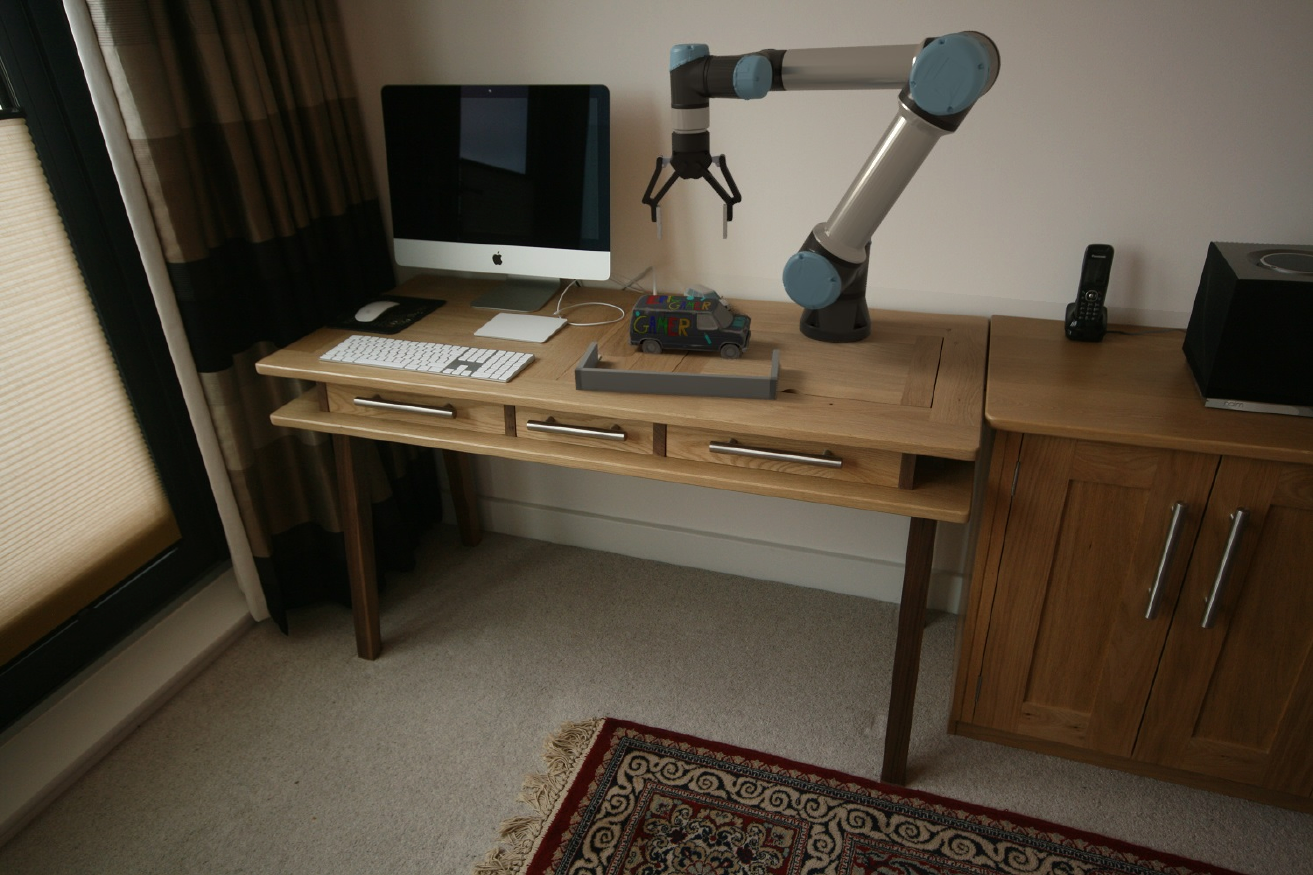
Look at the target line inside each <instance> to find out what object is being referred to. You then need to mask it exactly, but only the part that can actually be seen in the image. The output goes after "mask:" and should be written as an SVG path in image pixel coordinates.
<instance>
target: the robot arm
mask: <svg viewBox="0 0 1313 875" xmlns="http://www.w3.org/2000/svg"><path fill="white" fill-rule="evenodd" d="M669 53H670V54H669V69H668V73H669V80H670V81H669V82H670V83H669V84H670V100H671V101H670V102H671V103H670V122H671V124H670V126H671V129H672V130H673V131H672V133H671V156H664V155H662V154H659V155H658V156H657V158H656V159H655V160H656V161H655V169H654V172H653V174H652V176H651V178H650V181H649V183H648V185H647V188H646V190H645V192H644V194H643V197H642V199H641V203H642V204H644V205H648V206H649V207H650V216H651V223H656V234H657V235H656V239H657V240H661V239H662V238H663V218H662V216H663V213H662V204H659V203H660V201H661V200H662V199H663V198H664V196H665V195H666V194H667V192H669V190H670V188H671V187H672V186H673V185H674V184H675V182H676V181H677V180H678V179H679V178H680V179H682V180H690V179H692V180H699V179H702V178H703V179H704V181H706V182H707V183H708V184H709V186H710V187H711V188H712V189H713V190H714V192H715V193H716V194H717V195H718V196H719V197H720V199H722V200H723V202H724V203H723V205H722V239H723V240H727V239H728V222H733V219H734V216H733V215H734V206H735V204H739V203H741V202H742V199H743V197H742V194H741V191H740V190H739V187H738V186H737V184H736V182H735V180H734V177H733V175H732V173H731V172H730V168H729V167H728V165H727V159H726V158H727V157H726V156H727V155H725V154H724V153H721V154H719V155H712V154H711V146H710V144H711V138H710V134H711V132H710V131H709V128H710V125H711V124H710V115H711V114H710V99H730V100H731V99H732V100H744V101H750V100H760V99H764V98H766V97H767V95H768V94H769V92H788V91H789V92H791V91H793V92H794V91H799V92H801V91H802V92H803V91H854V90H855V91H861V90H862V91H867V90H869V91H870V90H900V92H899V93H898V94H897V103H898V111H897V113H896V114H895V116H893V119H892V120H891V122H890V123H889V125H888V126H887V128H886V130H885V131H884V133H883V135H882V136H881V138H880V139H879V140H878V142H877V143H876V145H875V147H874V148H873V149H872V152H871V153H870V154H869V156H868V157H867V159H866V161H865V162H864V164H863V165H862V167H861V168H860V169H859V171H858V173H857V175H856V176H855V178H854V179H853V181H852V182H851V184H850V185H849V186H848V188H847V190H846V192H845V193H843V196H842V197H841V199H840V201H839V202H838V204H837V205H836V207H835V209H833V212H832V213H831V214H830V217H829V218H828V220H826V221H825V222H819V223H817V224H815V225H814V227H813V228H812V230H811V231H810V233H809V234H808V235H807V237H806V239H805V240H804V242H803V244H802V245H801V247H800V248H799V250H798V251H797V252H796V253H794V254H793V255H791V256H790V257H789V258H788V260H787V262H786V263H785V265H784V267H783V270H782V275H781V276H782V278H781V279H782V283H783V287H784V291H785V293H786V294H787V296H788V297H789V299H791V301H793V302H794V303H795V304H797V305H798V306H800V307H802V308H803V310H802V312H801V315H800V318H799V331H800V332H801V334H802V335H804V336H806V337H808V338H810V339H814V340H816V341H821V342H828V343H849V342H850V343H851V342H857V341H861V340H863V339H866V338H867V337H869V335H871V331H872V320H871V316H870V312H869V307H868V303H867V299H866V294H867V285H868V284H867V283H868V277H869V276H868V274H869V264H870V255H871V246H872V243H873V242H872V238H873V235H874V233H875V232H876V231H877V229H878V228H879V227H880V226H881V224H882V222H883V221H884V219H886V217H887V216H888V213H889V212H890V211H891V209H892V208H893V207H894V205H895V204H896V202H897V201H898V199H899V198H900V197H901V195H902V194H903V192H904V191H905V189H906V188H907V186H908V185H909V183H910V182H911V181H912V179H913V178H914V176H915V175H916V173H917V172H918V171H919V169H920V167H922V164H924V162H925V160H926V159H927V158H928V156H929V155H930V153H931V152H932V150H933V149H934V147H935V146H936V145H937V143H938V141H939V140H940V139H941V138H942V137H944V136H948V135H952V134H955V133H956V131H958V128H959V127H960V126H961V125H962V123H963V122H964V120H965V119H966V117H967V116H968V114H969V113H970V112H971V110H972V109H973V107H974V106H975V105H976V103H977V101H978V100H979V99H981V98H982V97H983V96H985V95H986V94H987V93H988V92H989V91H990V90H991V89H992V88H993V86H994V85H995V84H996V81H997V80H998V78H999V74H1000V71H1001V67H1002V66H1001V65H1002V61H1001V53H1000V50H999V48H998V46H997V43H995V41H994V40H993V39H992V38H991V37H990V36H988V35H987V34H985V32H984V33H983V32H981V31H977V30H962V31H959V32H953V33H948V34H944V35H941V36H933V37H931V36H930V37H929V36H928V37H924V39H923V40H922V41H920V43H909V44H907V43H906V44H885V45H862V46H861V45H858V46H856V45H855V46H837V47H836V46H835V47H813V48H812V47H811V48H810V47H809V48H789V49H776V48H764V49H761V50H759V51H753V52H748V53H743V54H734V55H733V54H731V55H714V54H713V55H712V54H711V52H710V47H709V45H708V44H706V43H682V44H675V45H673V46H672V47H671V49H670V52H669ZM668 164H670V165H671V167H672V168H673V171H674V172H673V173H672V174H671V176H670V177H668V179H667V180H666V182H665V183H664V185H663V186H662V187H661V188H660V189H659V191H658V192H657V194H656V195H655V196H654V197H651V196H652V193H653V191H654V188H655V187H656V184H657V181H658V180H659V178H660V175H661V173H662V170H663V169H665V168H666V167H667V166H668ZM712 164H715V166H716V167H717V168H719V169H720V172H721V174H722V176H723V178H724V181H725V182H726V184H727V186H728V188H729V190H730V192H731V195H732V196H731V195H730V194H729V193H728V191H726V190H725V188H724V187H723V185H722V184H721V183H720V182H719V181H718V180H717V179H716V178H715V176H714V175H713V173H712V172H711V171H710V169H709V168H710V167H711V165H712Z"/></svg>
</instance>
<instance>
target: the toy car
mask: <svg viewBox="0 0 1313 875" xmlns="http://www.w3.org/2000/svg"><path fill="white" fill-rule="evenodd" d="M683 296H691V297H702V298H715V299H718V300H719V301H720V302H721V303H722V304H723V305H724V306H725V308H726V309H727V310H728V311H729V312H730V313H731V310H732V309H731V306H730V305H731V304H730V302H729V301H728V300H725V299H723V298H724V295H719V294H718V293H717V292H716V290H714V289H712V288H710V287H708V286H706V285H703V284H700V283H695V284H691V285H688V286H687V287H686V289H685V290H684V292H683Z"/></svg>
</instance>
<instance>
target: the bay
mask: <svg viewBox="0 0 1313 875" xmlns="http://www.w3.org/2000/svg"><path fill="white" fill-rule="evenodd" d="M598 345H599V344H598V341H590V343H589V346H587V349H586V350H585V352H584V354H583V355H582V357H581V358H580V360H579V362H578V363H577V365H576V367H575V369H574V379H575V383H574V384H575V390H577V391H593V392H594V391H595V392H596V391H597V392H599V391H600V392H613V393H614V392H616V393H619V392H620V393H634V394H635V393H636V394H637V393H639V394H657V395H672V396H674V395H676V396H693V397H694V396H695V397H696V396H697V397H712V398H730V399H731V398H735V399H750V400H751V399H753V400H772V401H775V400H777V392H778V391H777V390H778V380H779V368H780V349H773V351H772V356H771V358H772V360H771V367H770V376H766V375H764V376H763V375H760V376H759V375H741V374H722V373H721V374H720V373H701V372H700V373H697V372H681V371H680V372H679V371H657V370H638V369H637V370H634V369H615V368H613V369H612V368H596V366H597V364H598V362H599V361H600V359H601V357H602V355H601V354H599V347H598Z"/></svg>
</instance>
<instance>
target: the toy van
mask: <svg viewBox="0 0 1313 875" xmlns="http://www.w3.org/2000/svg"><path fill="white" fill-rule="evenodd" d="M751 323H752V318H751V316H749V315H747V314H738V313H732V312H731V311H730V312H729V311H728V310H727V309H726V308H725V306H724V305H723V304H722V303H721V302H720V301H719V300H718V299H715V298H702V297H691V296H684V295H668V294H666V295H662V294H660V295H659V294H645V295H644V294H643V295H640V296H639V299H637V301H636V303H635V304H634V305H633V307H632V311H631V315H630V321H629V323H628V335H629V336H628V337H629V340H628V342H627V344H628V346H629V347H632V346H634V347H640V346H641V345H642V346H641V348H642V351H643V353H646V354H656V355H660V354H661V353H662V349H666V350H667V349H668V350H670V349H671V350H685V351H686V350H687V351H688V350H689V351H703V352H704V351H705V352H720V356H721V358H722V359H727V360H728V359H729V360H739V358H740V356H741V353H746V352H747V349H748V347H749V344H750V343H749V342H750V339H751V337H752V330H750V329H751Z"/></svg>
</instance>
